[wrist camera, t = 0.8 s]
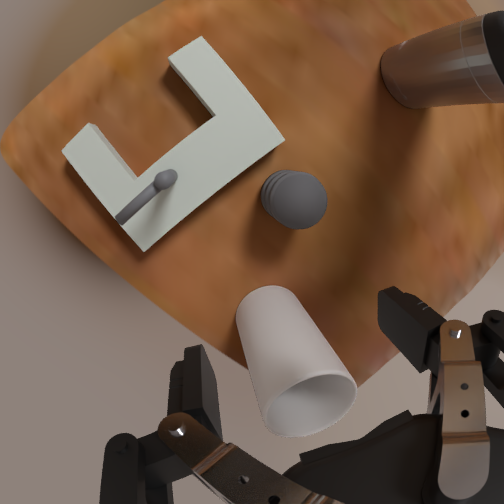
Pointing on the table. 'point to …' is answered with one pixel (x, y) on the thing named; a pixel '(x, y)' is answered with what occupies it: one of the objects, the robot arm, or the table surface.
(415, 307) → the robot arm
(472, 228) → the table surface
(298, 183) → the grooved grey cylinder
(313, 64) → the table surface
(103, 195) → the board
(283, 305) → the cup
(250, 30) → the table surface
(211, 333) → the table surface
